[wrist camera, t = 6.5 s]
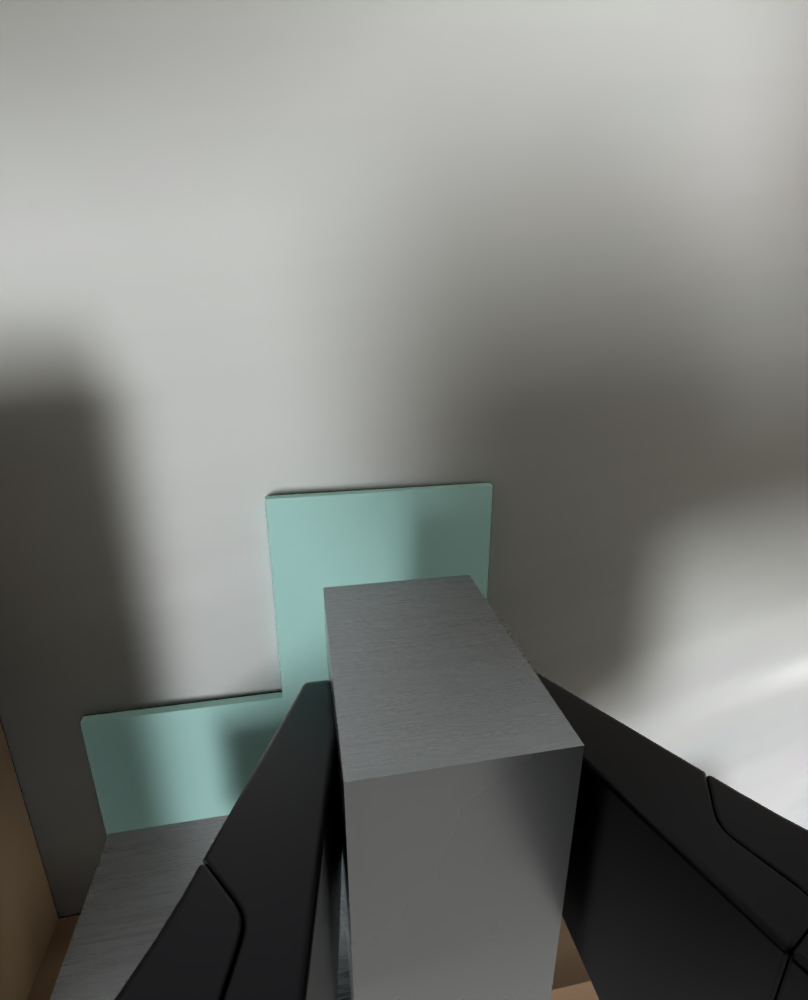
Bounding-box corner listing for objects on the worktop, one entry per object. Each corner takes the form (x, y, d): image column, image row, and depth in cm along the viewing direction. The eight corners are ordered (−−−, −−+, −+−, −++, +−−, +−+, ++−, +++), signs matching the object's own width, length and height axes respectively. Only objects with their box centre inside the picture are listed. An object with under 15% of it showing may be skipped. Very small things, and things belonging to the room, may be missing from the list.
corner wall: (-193, 433, 9) (-486, 505, 5) (674, 403, 11) (825, 438, 8) (1, 975, 13) (-98, 1199, 10) (603, 857, 16) (684, 1000, 12)
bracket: (457, 868, 12) (532, 1129, 8) (132, 930, 10) (42, 1269, 7) (469, 574, 9) (584, 745, 6) (56, 610, 8) (-141, 856, 4)
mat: (472, 814, 14) (475, 821, 14) (120, 875, 13) (117, 884, 12) (489, 482, 11) (492, 485, 11) (35, 510, 10) (30, 513, 9)
